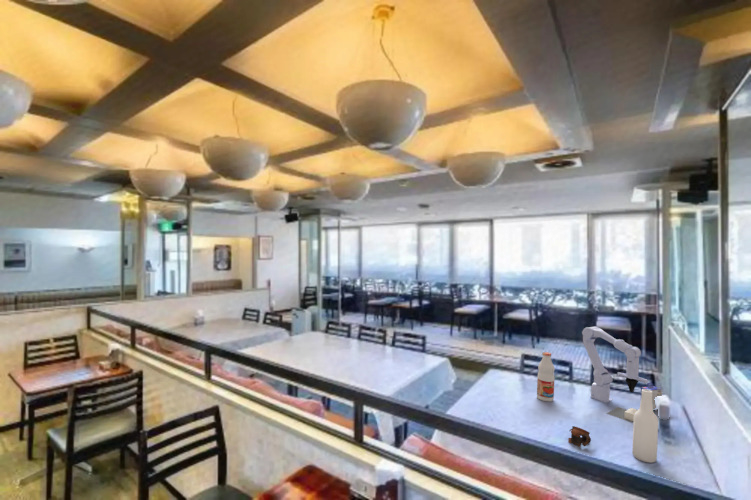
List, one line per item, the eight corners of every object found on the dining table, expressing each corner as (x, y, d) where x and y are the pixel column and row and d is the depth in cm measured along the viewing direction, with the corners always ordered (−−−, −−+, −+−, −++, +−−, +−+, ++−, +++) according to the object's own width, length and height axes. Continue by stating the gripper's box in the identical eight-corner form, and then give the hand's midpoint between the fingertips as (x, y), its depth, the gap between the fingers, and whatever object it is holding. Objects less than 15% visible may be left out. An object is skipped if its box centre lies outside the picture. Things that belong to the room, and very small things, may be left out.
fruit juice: (544, 394, 236) (546, 350, 236) (557, 400, 228) (559, 354, 227) (533, 396, 233) (535, 351, 232) (545, 402, 224) (547, 355, 224)
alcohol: (657, 466, 161) (660, 396, 161) (632, 459, 166) (635, 391, 165) (655, 456, 168) (658, 389, 168) (631, 450, 173) (634, 385, 173)
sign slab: (624, 411, 206) (639, 416, 200) (631, 407, 211) (645, 412, 205) (624, 418, 206) (639, 423, 200) (631, 414, 211) (645, 418, 205)
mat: (605, 414, 211) (605, 413, 211) (618, 407, 220) (618, 406, 220) (635, 424, 199) (635, 423, 199) (647, 417, 209) (647, 416, 209)
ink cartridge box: (653, 406, 224) (654, 382, 224) (662, 410, 218) (663, 385, 218) (639, 407, 222) (640, 382, 222) (648, 411, 216) (649, 386, 216)
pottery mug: (562, 440, 181) (566, 423, 184) (578, 448, 182) (582, 431, 185) (581, 446, 170) (585, 428, 173) (598, 455, 171) (602, 437, 174)
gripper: (615, 366, 221) (614, 389, 221) (644, 373, 209) (643, 397, 209) (620, 364, 225) (619, 386, 225) (649, 371, 213) (648, 395, 214)
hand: (631, 391), depth 218 cm, fingers closed
